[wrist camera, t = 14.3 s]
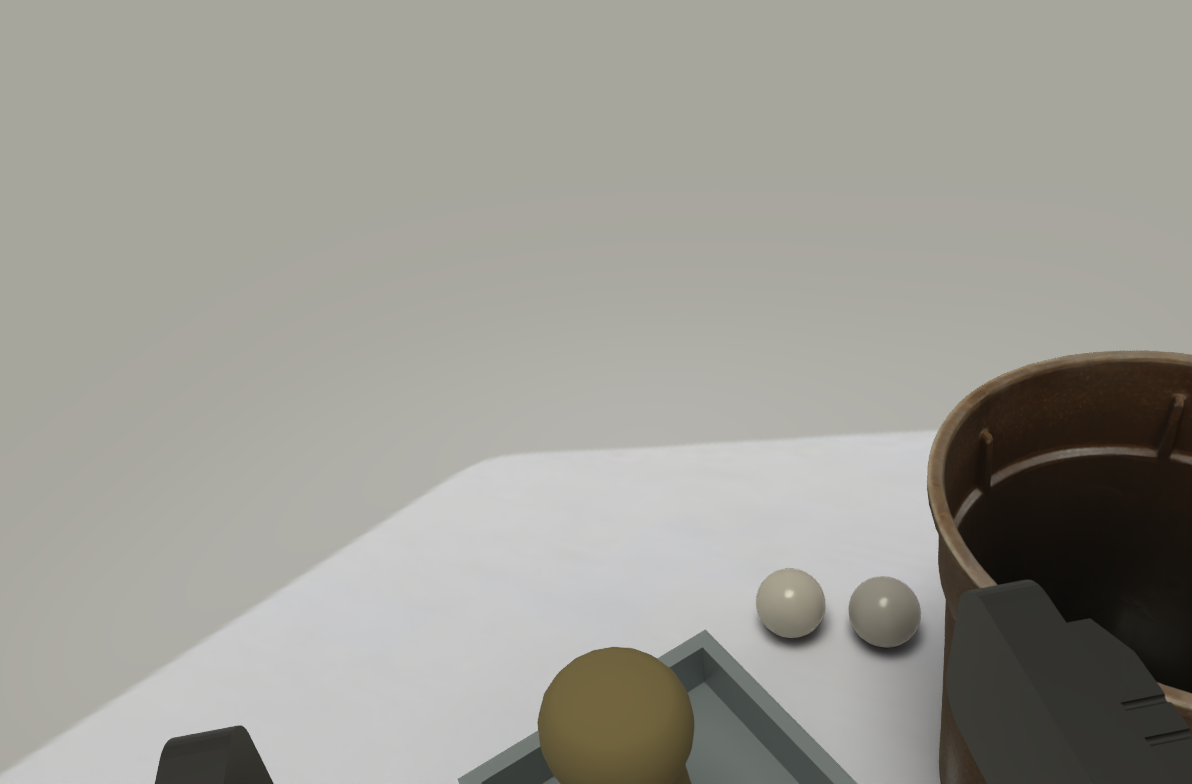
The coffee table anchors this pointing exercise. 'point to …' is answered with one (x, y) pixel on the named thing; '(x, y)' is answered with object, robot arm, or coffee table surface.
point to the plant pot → (1073, 507)
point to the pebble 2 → (884, 611)
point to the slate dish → (707, 731)
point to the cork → (617, 721)
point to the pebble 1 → (790, 603)
